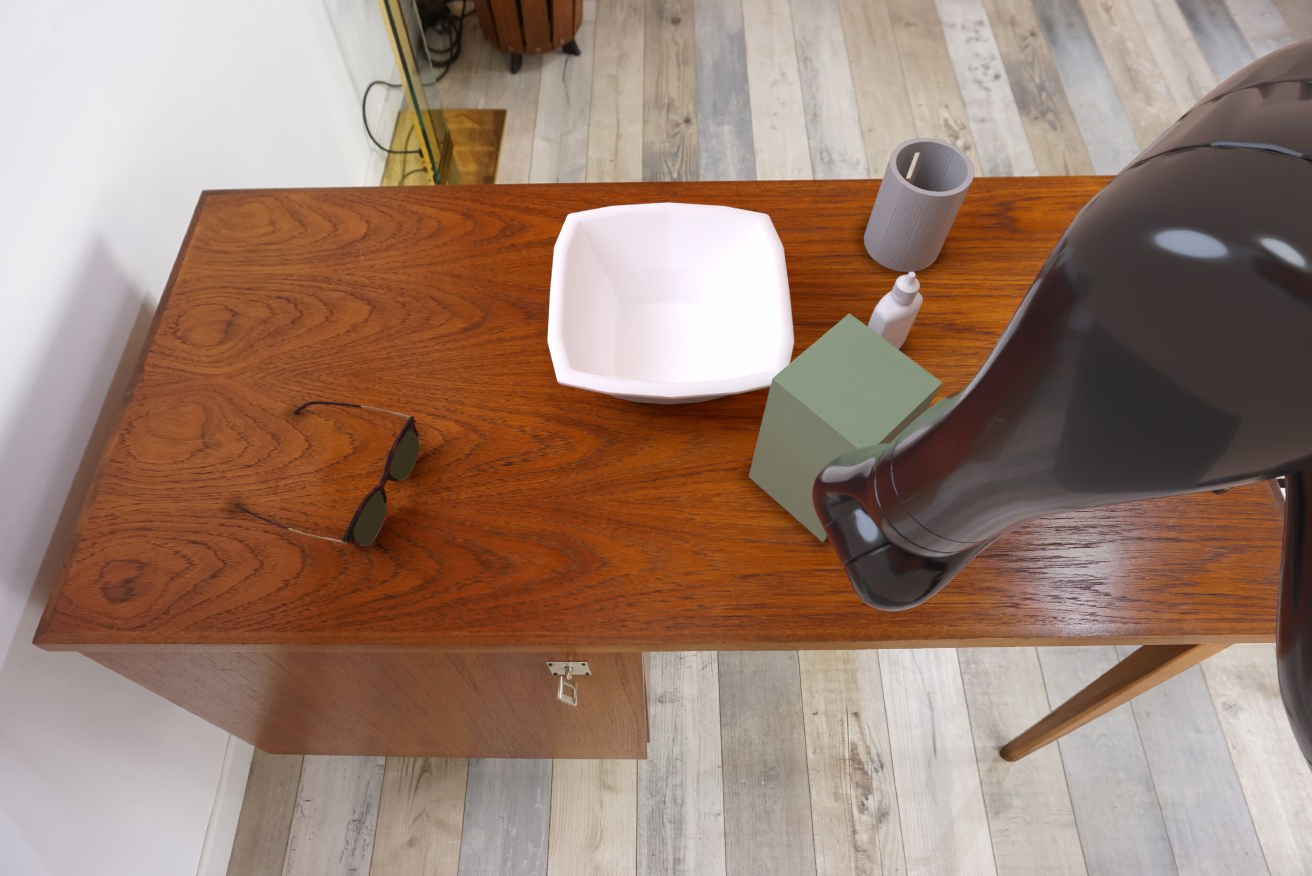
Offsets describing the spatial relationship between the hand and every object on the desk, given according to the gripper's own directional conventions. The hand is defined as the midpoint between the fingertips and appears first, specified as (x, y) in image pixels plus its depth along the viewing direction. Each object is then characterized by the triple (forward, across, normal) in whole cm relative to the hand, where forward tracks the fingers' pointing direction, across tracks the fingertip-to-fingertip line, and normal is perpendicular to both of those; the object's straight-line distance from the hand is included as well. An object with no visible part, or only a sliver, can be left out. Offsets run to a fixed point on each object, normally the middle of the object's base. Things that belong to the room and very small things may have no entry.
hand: (1268, 362), depth 59 cm
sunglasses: (-70, +34, +26) cm, 82 cm away
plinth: (-24, +14, +26) cm, 38 cm away
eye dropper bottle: (-9, +26, +26) cm, 38 cm away
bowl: (-32, +35, +26) cm, 54 cm away
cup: (+1, +38, +26) cm, 46 cm away
